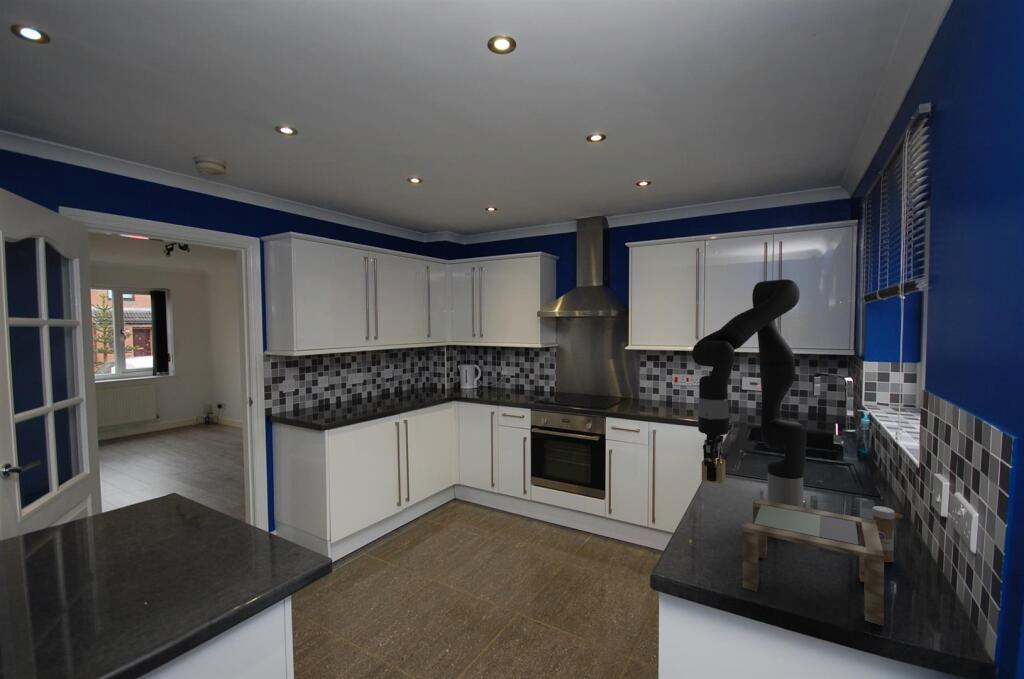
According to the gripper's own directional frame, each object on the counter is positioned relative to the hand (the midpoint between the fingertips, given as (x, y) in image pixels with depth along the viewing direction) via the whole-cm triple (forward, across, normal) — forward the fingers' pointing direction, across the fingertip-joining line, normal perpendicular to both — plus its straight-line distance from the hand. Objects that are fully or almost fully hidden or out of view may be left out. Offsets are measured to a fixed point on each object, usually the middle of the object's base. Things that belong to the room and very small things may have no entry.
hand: (713, 477), depth 124 cm
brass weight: (0, 0, 0) cm, 0 cm away
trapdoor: (+10, +2, +21) cm, 23 cm away
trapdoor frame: (+21, +2, +22) cm, 30 cm away
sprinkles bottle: (+22, -22, +37) cm, 48 cm away
